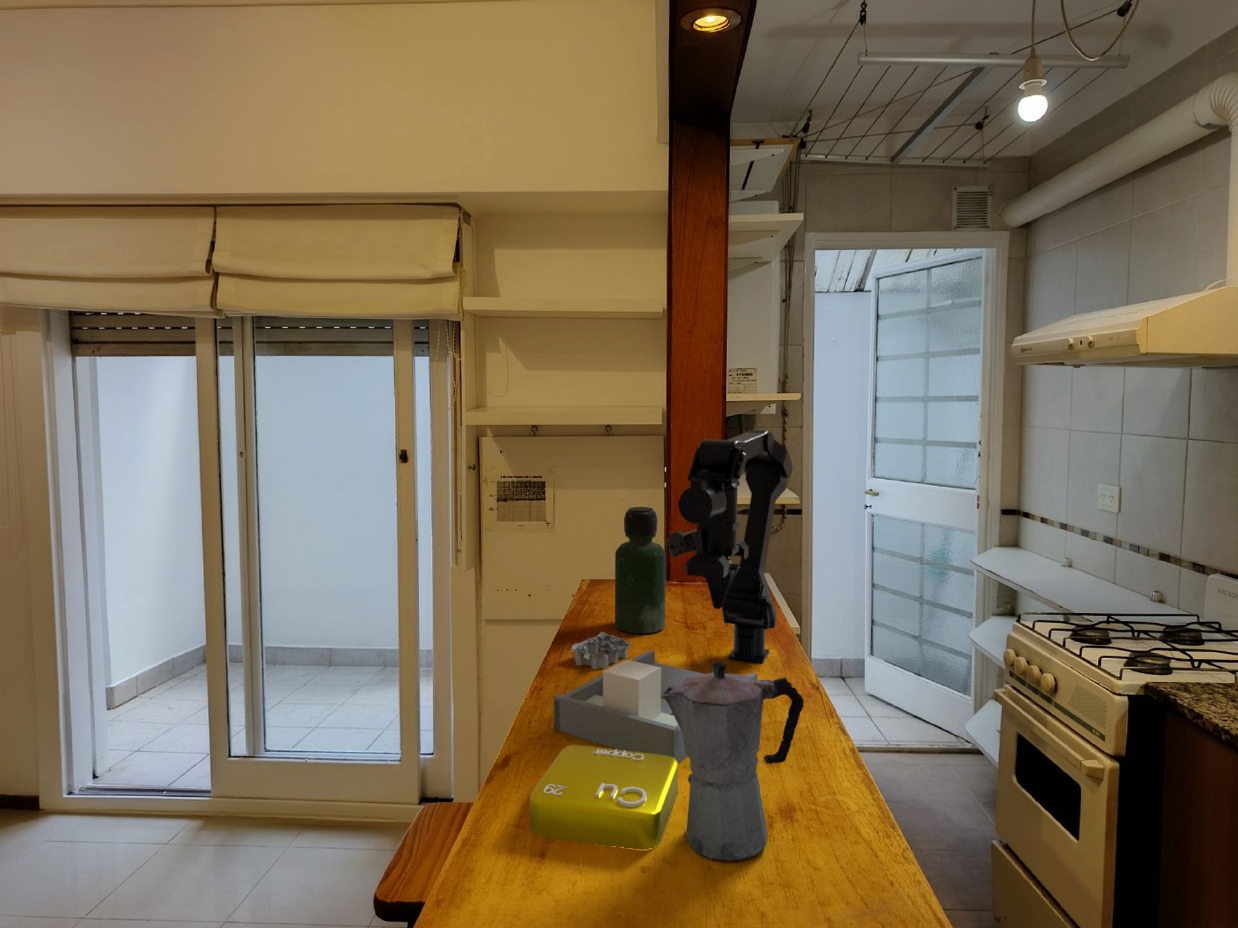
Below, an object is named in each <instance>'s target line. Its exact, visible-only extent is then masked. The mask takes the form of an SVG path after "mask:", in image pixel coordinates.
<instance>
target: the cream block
mask: <svg viewBox="0 0 1238 928" xmlns="http://www.w3.org/2000/svg"><path fill="white" fill-rule="evenodd" d="M631 660H632V659H626V658H625V659H624V660H623V661H621V662H619V663H618V662H617V663H615V664H614V665H613V666H611V667H609V668H606V669H604V670H603V671H602V675H603V707H606V708H610V709H613V710H617V711H621V712H624V713H628V714H632V715H635V716H639V717H642V718H646V719H650V720H653V719H655V718H656V717H658V716H659V715H661V697H660V695H661V667H657V666H653V665H648V664H644V663H640V662H635V661H631Z"/></svg>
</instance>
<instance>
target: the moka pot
mask: <svg viewBox="0 0 1238 928" xmlns="http://www.w3.org/2000/svg"><path fill="white" fill-rule="evenodd" d="M711 669H712V671H713V672H710V673H703V674H704V675H698V676H694V677H689V678H686V679H685V680H684V681H683V682H682V683H681V684H676V685H673V686H669V687H668V689H666V690H664V691H663V692H662V693H661V695H660V697H661V698H663V699H665V700H666V701H667V703H668V705H669V707H670V709H671V711H672V713H673V715H674V717H675V719H676V721H677V723H678V725H679V727H680V728H681V731H682V734H683V739H684V745H685V751H686V754H687V757H688V758H689V767H690V770H691V774H689V775H688V777H687V783H689V785H690V786H689V795H688V796H689V797H688V810H687V818H686V820H687V822H686V833H685V834H686V836H685V839H686V841H687V843H688V844H689V846H690V847H691V849H692V850H694V851H695V852H696V853H698V854H699V855H701V856H703V857H705V858H706V857H707V858H709V859H711V860H712V859H713V860H718V861H724V862H725V861H726V862H729V861H736V860H737V861H738V860H739V861H740V860H747V859H749V858H752V857H754V856H755V855H757V854H759V853H760V852H761V851H762V850H764V848H765V847H766V846H767V840H768V835H769V833H768V827H767V822H766V816H765V812H764V811H765V810H764V806H763V801H762V796H761V788H760V782H759V777H758V772H757V768H758V766H757V765H758V762H759V757H758V756H757V755H758V752H759V750H760V744H761V743H760V742H761V741H760V740H761V732H762V731H761V730H762V719H763V707H764V700H772V699H777V698H778V697H780V696H787V697H788V698H789V699H790V701H791V704H790V706H789V708H788V712H787V713H788V714H787V718H786V720H785V725H784V728H783V732H782V733H783V734H782V736H781V737H782V740H781V741H780V745H779V748H778V749H777V751H776V752H775V753H774V754H765V756H762V758H763V760H764V761H765V764H766V765H768V764H769V765H772V764H781V763H784V762H786V759H787V757H788V754H789V752H790V749H791V745H792V741H793V740H794V735H795V732H796V731H795V730H796V729H797V725H798V724H799V723H798V722H799V718H800V716H801V712H803V708H804V701H805V700H804V698H803V696H802V695H801V694H800V693H799V692H798V690H797V688H795V687H793V686H792V683H791V682H790V681H788V679H787V678H786V677H782V678H776V679H773V680H771V679H759V680H757V681H755V680H753V679H751V678H749V677H748V675H747V674H737V673H736V674H734V673H726V669H727V663H726V662H722V661H715V662H713V663H711Z"/></svg>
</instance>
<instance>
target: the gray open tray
mask: <svg viewBox="0 0 1238 928" xmlns="http://www.w3.org/2000/svg"><path fill="white" fill-rule="evenodd" d="M630 660H631V661H635V662H640V663H644V664H648V665H653V666H657V667H661V693H662V692H663V691H664V690H666V689H668V687H669V686H673V685H676V684H681V683H682V682H683V681H684V680H685V679H686V678H689V677H694V676H698V675H704V674H705V673H702V672H698V671H697V672H696V671H693V670H689V669H683V668H680V667H675V666H671V665H666V664H663V663H659V662H656V651H655V650H650V649H649V650H648V651H645V652H644V653H642V654H640V655H638V656H636V657H634V658H632V659H630ZM758 675H759V674H758V673H755V672H751V673H749V674H747V676H748V677H749V678H751V679H753V680H755V681H758ZM553 697H554V698H553V700H554V701H553V707H554V708H553V709H554V710H553V714H554V715H553V722H554V724H553V725H554V726H553V727H554V730H555V731H557V732H559V733H560V732H561V733H563V734H565V735H570V736H573V737H576V738H579V739H583V740H586V741H589V742H592V743H595V744H600V745H602V746H606V747H607V748H610V749H618V750H626V751H634V752H643V753H651V754H659V755H666V756H671V757H673V758H674V759H675V760H677V763H678V764H680V763H681V762H682V761H684V760H685V759H686V758H687V757H688V756H687V754H686V751H685V745H684V739H683V734H682V731H681V728H680V727H679V725H678V723H677V721H676V719H675V717H674V715H673V713H672V711H671V709H670V707H669V705H668V703H667V701H666V700H665V699H663V698H661V715H659V716H658V717H656V718H655V719H653V720H650V719H646V718H642V717H639V716H635V715H632V714H628V713H624V712H621V711H617V710H613V709H610V708H606V707H603V674H601V675H599V676H597V677H596V678H594V679H591V680H590V681H588V682H586V683H584V684H582V685H580V686H578V687H576V688H574V689H572V690H571V691H569V692H567V693H564V694H560V693H559V694H556V695H554V696H553Z"/></svg>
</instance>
